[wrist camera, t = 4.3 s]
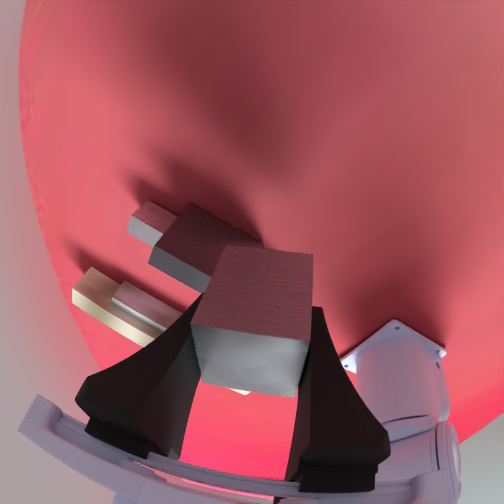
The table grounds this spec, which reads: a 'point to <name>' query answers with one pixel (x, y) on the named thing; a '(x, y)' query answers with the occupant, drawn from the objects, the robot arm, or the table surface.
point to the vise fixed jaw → (124, 308)
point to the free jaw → (185, 241)
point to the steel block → (255, 320)
